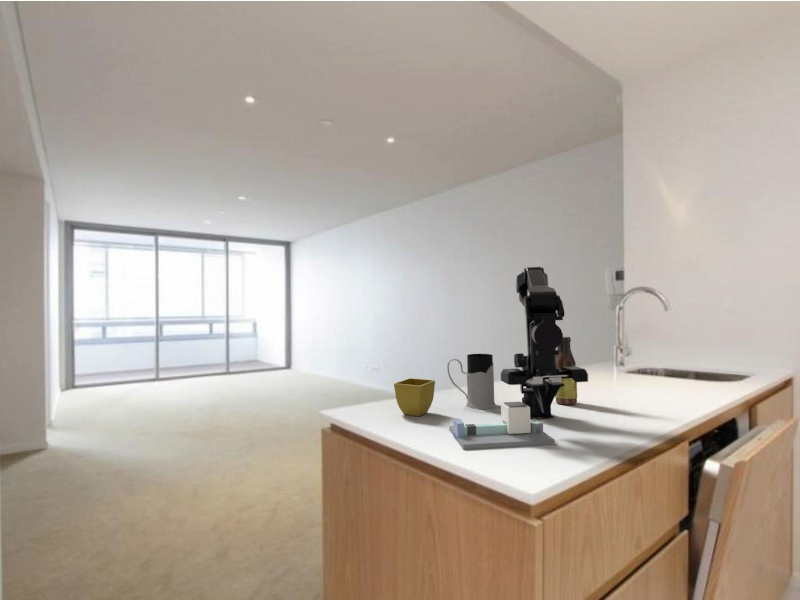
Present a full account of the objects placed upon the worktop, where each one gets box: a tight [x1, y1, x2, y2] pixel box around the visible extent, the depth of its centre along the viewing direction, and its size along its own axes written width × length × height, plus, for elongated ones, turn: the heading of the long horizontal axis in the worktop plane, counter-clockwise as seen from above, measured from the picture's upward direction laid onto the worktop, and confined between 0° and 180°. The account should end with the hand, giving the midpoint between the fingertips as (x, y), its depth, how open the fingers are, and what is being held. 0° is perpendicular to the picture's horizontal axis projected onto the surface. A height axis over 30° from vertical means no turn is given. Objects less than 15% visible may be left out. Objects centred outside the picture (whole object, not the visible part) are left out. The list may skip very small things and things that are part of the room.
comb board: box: [448, 418, 556, 450], centre depth 98 cm, size 20×14×4 cm
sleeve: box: [500, 401, 531, 434], centre depth 98 cm, size 5×5×6 cm
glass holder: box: [447, 353, 497, 410], centre depth 129 cm, size 9×14×15 cm, turn 74°
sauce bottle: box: [554, 335, 578, 406], centre depth 129 cm, size 6×6×20 cm
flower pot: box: [393, 377, 436, 417], centre depth 120 cm, size 9×9×9 cm
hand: (544, 412), depth 99 cm, fingers closed
